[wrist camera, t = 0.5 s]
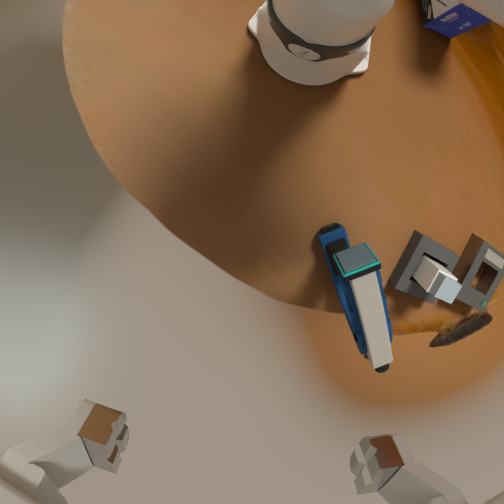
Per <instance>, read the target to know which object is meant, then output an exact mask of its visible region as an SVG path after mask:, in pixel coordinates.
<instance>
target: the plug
mask: <svg viewBox="0 0 504 504" xmlns="http://www.w3.org/2000/svg"><path fill="white" fill-rule="evenodd" d="M412 276H413V277H414V278H415V280H416V281H417V282H418V283H419V284H420V285H421V286H422V287H423V288H424V289H425V290H426V291H427V292H429V293H431V294H432V295H433V296H434V297H436V298H439V299H441V300H443V301H445V302H448V303H450V304H452V302H453V301H454V299H455V297H456V296H457V294H458V292H459V291H460V289H461V287H462V285H461V284H460V283H459V282H457V280H458V279H457V278H456V277H455V276H454V275H453V274H451V273H450V272H449V271H448V270H447V269H446V268H444V267H443V266H442V265H441V264H440V263H439V262H437V261H436V260H434V259H432V258H431V257H429V256H427V255H425V254H423V255H422V257H421V259H420V261H419V263H418V264H417V266H416V268H415V270H414V272H413V274H412Z"/></svg>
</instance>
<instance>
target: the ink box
mask: <svg viewBox="0 0 504 504" xmlns="http://www.w3.org/2000/svg"><path fill="white" fill-rule="evenodd" d="M420 1H421V10H422V20H423V26H424V27H426V28H428V29H431V30H433V31H435V32H438V33H440V34H442V35H445V36H447V37H449V38H453V37H455V36H457V35H459V34H462V33H464V32H466V31H468V30H471V29H473V28H475V27H478V26H480V25H482V24H485V23H487V22H490V21H492V20H490V19H489V18H487V17H485V16H483V15H482V14H480V13H478V12H477V11H475V10H473V9H471V8H470V7H468V6H466V5H464V4H462V3H460V2H458V1H456V0H420Z"/></svg>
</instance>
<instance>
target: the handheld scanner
mask: <svg viewBox="0 0 504 504" xmlns="http://www.w3.org/2000/svg"><path fill="white" fill-rule="evenodd" d="M317 235H318V238H319V241H320V243H321V246H322V249H323V252H324V255H325V258H326V261H327V264H328V267H329V270H330V273H331V276H332V279H333V282H334V285H335V288H336V291H337V293H338V296H339V299H340V302H341V305H342V308H343V310H344V313H345V316H346V318H347V321H348V324H349V326H350V329H351V331H352V334H353V336H354V339H355V341H356V344H357V347H358V349H359V351H360V353H361V354H362V355H363V354H366V353H367V356H368V358H369V360H370V362H371V365H372V367H373V368H374V369H375V370H376V371H377V372H379V373H382V372H385V371H387V370H388V368H389V363H390V362H392V361H393V357H392V351H391V344H390V343H391V342H392V327H391V321H390V319H389V316H388V311H387V300H386V297H385V295H384V291H383V287H382V283H381V282H382V278H381V274H380V271H379V269H381V263H380V261H379V260H378V258H377V257H376V256H375V254H374V253H373V252H372V250H371V249H370V248H369V246H368V245H367V244H366V243H365V242H364V243H361V244H359V245H356V246H354V247H350V244H349V241H348V238H347V234H346V231H345V229H344V227H343V226H342V225H341V224H340V225H339V224H338V223H333V224H331V225H328V226H325V227H323V228H322V229H320V232H319V233H317Z"/></svg>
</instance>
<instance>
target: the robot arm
mask: <svg viewBox="0 0 504 504" xmlns="http://www.w3.org/2000/svg"><path fill="white" fill-rule="evenodd" d="M264 1H265V3H264V4H263V5H262V6H261V7H259V9H258V11H257V12H256V13H255V15H254V16H253V17H252V18H251V19H250V21H249V23H248V28H249V30H250V31H251V33H252V34H253V35H254V36H255V37H256V38H257V39H258V41H259V44H260V48H261V51H262V54H263V56H264V58H265V60H266V61H267V63H268V64H269V65H270V67H271V68H272V69H273V70H274V71H276V72H277V73H278V74H279V75H281V76H282V77H284V78H286V79H288V80H290V81H293V82H296V83H299V84H304V85H324V84H328V83H331V82H334V81H336V80H338V79H340V78H341V77H343V76H345V75H348V74H360V73H363V72H365V71H366V69H367V67H368V61H369V52H370V44H371V35H372V33H373V31H374V29H375V26H376V25H377V24H378V23H379V22H380V21H381V20H382V19H383V18H384V17H385V16H386V15H387V14H388V13H389V12H390V10H391V9H392V8H393V6H394V3H395V1H396V0H264ZM456 1H458V2H460V3H462V4H464V5H466V6H468V7H470V8H471V9H473V10H475V11H477V12H478V13H480V14H482V15H483V16H485V17H487V18H489V19H490V20H492V21H494V22H496V23H497V24H499V25H500V26H502V27H504V0H456ZM125 421H126V415H125V413H124V412H120V411H117V410H114V409H111V408H108V407H106V406H103V405H100V404H98V403H95V402H92V401H89V400H86V399H84V400H83V401H81V402H80V404H79V405H78V407H77V408H76V410H75V412H74V413H73V415H72V416H71V418H70V419H69V421H68V423H67V424H66V426H65V427H64V429H61V428H59V429H56V430H54V431H52V432H49V433H47V434H44V435H42V436H39V437H37V438H34V439H32V440H29V441H27V442H24V443H21V444H19V445H16V446H14V447H11V448H9V449H8V451H7V453H6V454H5V456H4V457H3V458H2V460H1V461H0V504H68V503H67V501H66V499H65V498H64V496H63V495H62V494H61V493H60V492H59V490H58V489H60V488H61V487H63V486H65V485H66V484H68V483H70V482H71V481H72V480H74V479H76V478H78V477H79V476H81V475H82V474H84V473H85V472H87V471H88V470H90V469H91V468H93V466H95V467H98V468H101V469H104V470H107V471H110V472H113V473H116V472H117V470H118V467H119V464H120V462H121V457H120V453H121V452H123V451H124V450H125V449H126V446H127V443H128V438H129V431H128V427H127V426H126V424H125ZM359 444H360V447H359V448H357V449H355V450H354V452H353V453H352V455H351V458H350V468H351V472H352V473H354V474H355V475H356V478H355V480H354V482H355V486H356V489H357V493H358V494H364V493H370V492H377V491H378V493H379V494H380V495H381V496H382V497H383V498H384V499H385V500H386V501H387V502H388V503H390V504H468V503H467V501H466V499H465V497H464V495H463V493H462V491H461V489H460V487H458V486H457V485H455V484H453V483H452V482H450V481H448V480H447V479H445V478H444V477H442V476H440V475H439V474H437V473H436V472H434V471H432V470H431V469H429V468H428V467H426V466H424V465H423V464H422V463H420V462H418V463H416V461H415V459H414V457H413V455H412V453H411V451H410V449H409V446H408V444H407V443H406V440H405V439H404V436H403V435H402V434H401V433H395V434H386V435H377V436H368V437H364V438H363V439H361V441H360V442H359ZM483 504H504V491H502V492H501V493H499V494H498V495H496V496H495V497H493V498H491V499H489V500H488V501H486V502H484V503H483Z"/></svg>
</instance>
